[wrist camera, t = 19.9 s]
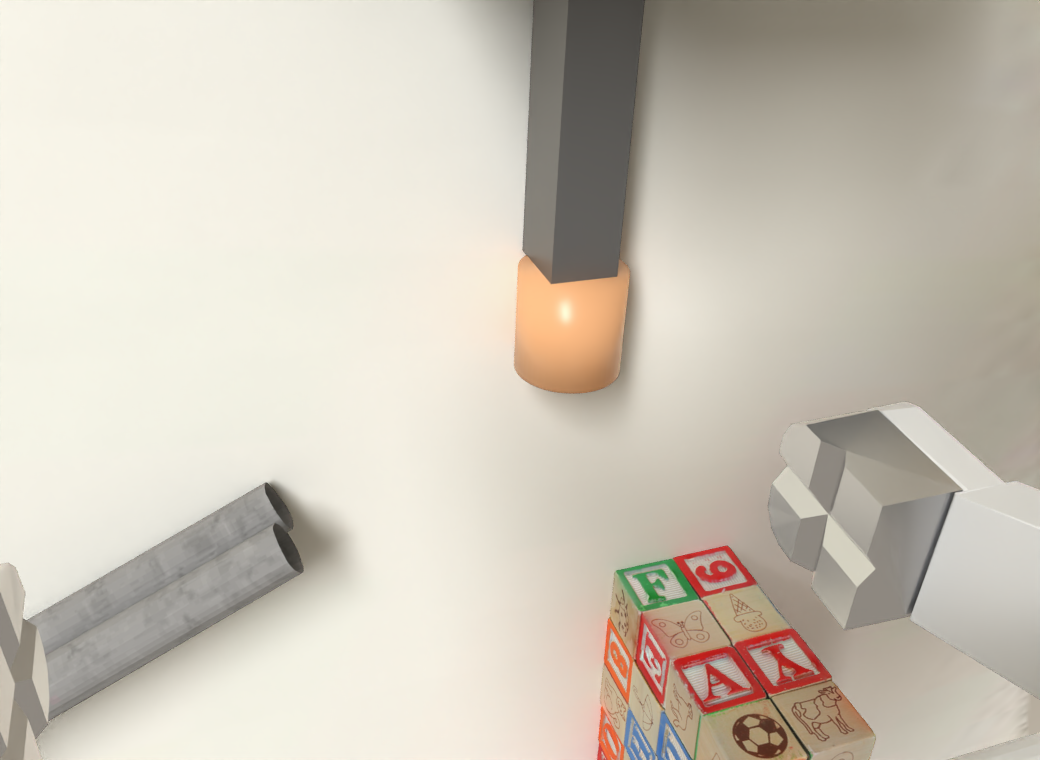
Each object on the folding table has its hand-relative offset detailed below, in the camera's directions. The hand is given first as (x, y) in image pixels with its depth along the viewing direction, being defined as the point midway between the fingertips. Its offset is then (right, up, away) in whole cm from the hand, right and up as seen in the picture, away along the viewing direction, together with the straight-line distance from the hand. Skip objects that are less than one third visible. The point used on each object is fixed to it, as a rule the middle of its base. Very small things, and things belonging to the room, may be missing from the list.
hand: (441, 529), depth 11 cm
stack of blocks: (+8, -16, +43) cm, 47 cm away
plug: (+2, +11, +24) cm, 27 cm away
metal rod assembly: (-20, -9, +28) cm, 35 cm away
